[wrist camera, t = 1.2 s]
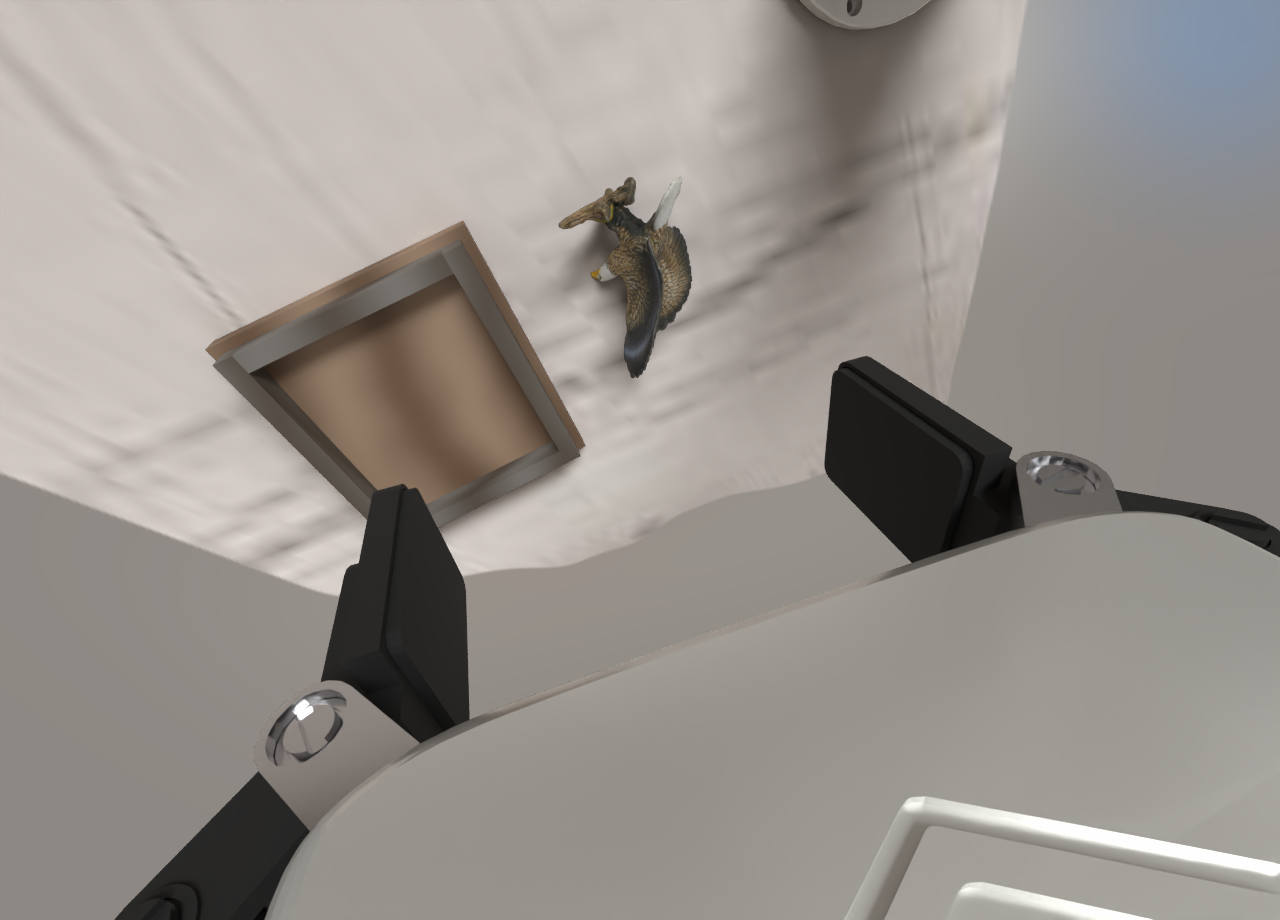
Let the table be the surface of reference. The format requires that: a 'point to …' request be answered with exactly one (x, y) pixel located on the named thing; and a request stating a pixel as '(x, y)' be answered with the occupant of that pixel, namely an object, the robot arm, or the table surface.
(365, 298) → the wooden tray
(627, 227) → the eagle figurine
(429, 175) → the table surface
